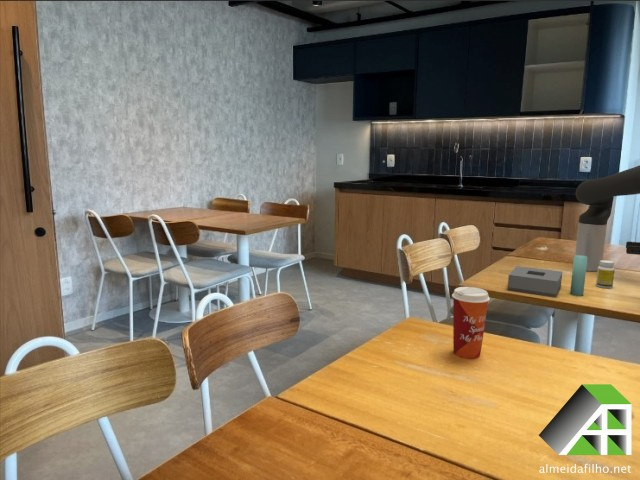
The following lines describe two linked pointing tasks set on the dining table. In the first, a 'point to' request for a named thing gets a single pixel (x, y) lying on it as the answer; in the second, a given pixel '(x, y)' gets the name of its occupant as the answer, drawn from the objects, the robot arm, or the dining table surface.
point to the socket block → (535, 281)
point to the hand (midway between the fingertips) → (626, 247)
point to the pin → (578, 275)
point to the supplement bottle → (605, 274)
